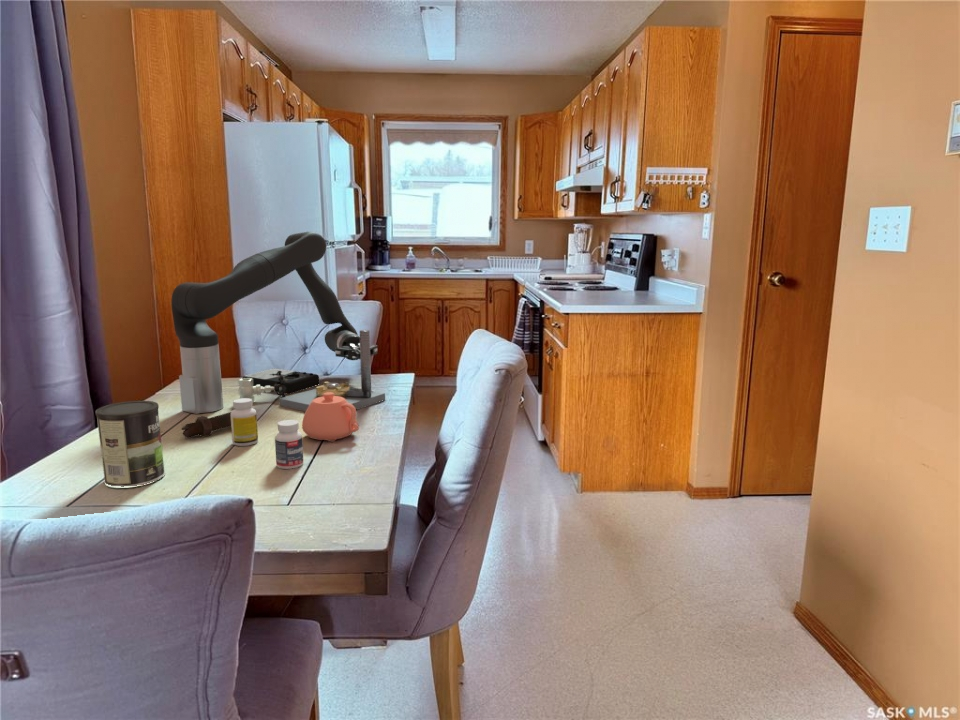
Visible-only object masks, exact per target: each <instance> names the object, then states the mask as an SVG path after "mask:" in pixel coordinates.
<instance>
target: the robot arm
mask: <svg viewBox="0 0 960 720" xmlns="http://www.w3.org/2000/svg"><path fill="white" fill-rule="evenodd" d="M326 250H327V242H326V240H325V238H324V237H323V236H322V235H321V234H320V233H317V232H316V231H303V232H299V233H293V234H292V233H291V234H290V235H289V236H287V238H286V239H285V242H284V246H283V245H282V246H280V247H275V248H271V249H268V250H264V251H263V250H262V251H260V252H258V253H254V254H252V255H251V256H249V257H246V258H244V259H242V260H241V261H239V262H238V263H236V265H235V266H234V267H233V269H232V271H231V272H230V273H229V274H227V275H226V276H224V277H222V278H218V279H216V280H213V281H210V282H203V283H201V282H182V283H180V284H178V285H176V287H175V288H173V289H174V290H173V291H172V294H171V299H170V300H171V301H170V303H171V313H172V320H173V326H174V332H175V335H176V337H177V338H178V340H179V341H178V342H179V349H180V361H181V362H180V363H181V373H182V374H180V375H179V376H178V379H179V389H180V390H179V391H180V401H181V411H183V412H187V413H190V414H194V415H198V414H204V413H205V414H206V413H212V412H217V411H219V410H222V409H223V408H224V398H223V397H224V396H223V386H222V385H223V383H222V373H221V371H222V370H221V358H220V348H219V347H220V346H219V344H220V343H219V335H218V334H217V332H216V331H214V330H213V329H212V328H211V327H210V326H209V325H208V323H207V320H209V319H212V318H214V317H216V316H218V315H219V314H221V313H223V312H224V311H225V310H227V309H228V308H229V307H231V306H233V304H235V303H237V302H239V301H240V300H242V299H244V298H247V297H248V296H250V295H252V294H254V293H256V292H258V291H260V290H262V289H264V288H266V287H268V286H271V285H272V284H273V283H275V282H277V281H278V280H281V279H282V278H284V277H285V276H287V275H289V274H290V273H292V272H294V271H296V273H297V275H298V276H299V278H300V279H301V281H302V282H303V284H304V286H305V287H306V289H307V291H308V292H309V294H310V296H311V298H312V299H313V302H314V304H315V306H316V309H317V311H318V314H319V316H320V319H321V321H322V322H323V323H324V324H325V325H334V324H340V326H338V327H337V326H336V327H335V328H333V329H331V330H328V331H327V332H326V333H325V335H324V343H325V345H326V347H327V348H328V349H329V350H330V351H332V352H334V353H335V357H338V358H339V357H340V358H344V359H347V360H349V361H358V360H360V361H361V358H360V335H359V334H358V331H357V330H356V328H355V327H354V326H353V325H352V323H350V321H349V320H348V319H347V317H346V316H345V314H344V312H343V310H342V307H341V304H340V303H339V300H338V298H337V295H336V294H335V292H334V291H333V289H332V288H331V287H330V285H328V284H327V283H326V282H325V280H323V278H322V277H321V276H320V275H319V274H318V272H317V271H316V269H315V268H314V266H313V263H316V262H319V261H320V260H321V259H322V258H323V257H324V256H325V254H326V252H327V251H326ZM377 354H378V345H377V344H372V345H370V357H372V356H375V355H377Z"/></svg>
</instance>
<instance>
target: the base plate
mask: <svg viewBox="0 0 960 720" xmlns="http://www.w3.org/2000/svg"><path fill="white" fill-rule="evenodd" d="M349 387H350V389H359V388H358V387H357V388H356V387H353V386H349ZM315 398H318V397H316V388H314V389H310V390H306V391H302V392H299V393H293V394H290V395H288V396H286V397H283V398H279V407H285V408H288V409H293V410H299V411H302V412H306V410H307V408H308V407H309V405H310V403H311V402H312V401H313V400H314V399H315ZM344 398H345V400H346V401H347V402H348V403H349V404H352V405H353V406H354V407H355V409H357V410H360V409H362V407H363V408H366V407H369V406H371V404H372V405H375V404H377V403H376V402H378V403H380V402H379V401H381V402H383V401H382V400H384V401H386V393H385V392H380V391H374V390H371V397H362V396H347V397H344ZM374 403H375V404H374ZM368 405H369V406H368ZM365 406H366V407H365ZM359 408H360V409H359Z"/></svg>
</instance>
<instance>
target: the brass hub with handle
mask: <svg viewBox="0 0 960 720" xmlns="http://www.w3.org/2000/svg"><path fill="white" fill-rule="evenodd" d="M370 336H371V335H370V330H367V329H363V330H359V337H360V358H361V360H360V385H361V386H360V387H361V388H358V389H350V387H351V386H350V382H348V381H345V382H341V383H338V382H330V381H323V384H322V385H317V386H315V389H316V397H323V394H324V393H327V392H332V393H334V396H339V397H343V398H344V397H347V396H362V397H371V391H372V376H371V374H372V371H371V367H372V366H371V356H370V346H371V342H370V341H371V339H370Z"/></svg>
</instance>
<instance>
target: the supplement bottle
mask: <svg viewBox="0 0 960 720" xmlns="http://www.w3.org/2000/svg"><path fill="white" fill-rule="evenodd" d="M232 407H233V410H231V411H230V412H231V414H230V415H231V426H230V429H231V441H232V442H231V443H232V445H234V446H237V447H247V446H252V445H254V444H256V443H258V441H259V433H258V418H257V411H256V409H255V408H253V403H252V399H249V398H241V399H240V398H236V399H234V400H233V401H232ZM234 408H235V409H234Z"/></svg>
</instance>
